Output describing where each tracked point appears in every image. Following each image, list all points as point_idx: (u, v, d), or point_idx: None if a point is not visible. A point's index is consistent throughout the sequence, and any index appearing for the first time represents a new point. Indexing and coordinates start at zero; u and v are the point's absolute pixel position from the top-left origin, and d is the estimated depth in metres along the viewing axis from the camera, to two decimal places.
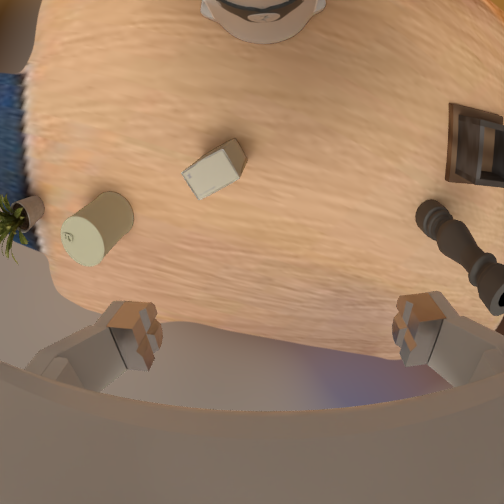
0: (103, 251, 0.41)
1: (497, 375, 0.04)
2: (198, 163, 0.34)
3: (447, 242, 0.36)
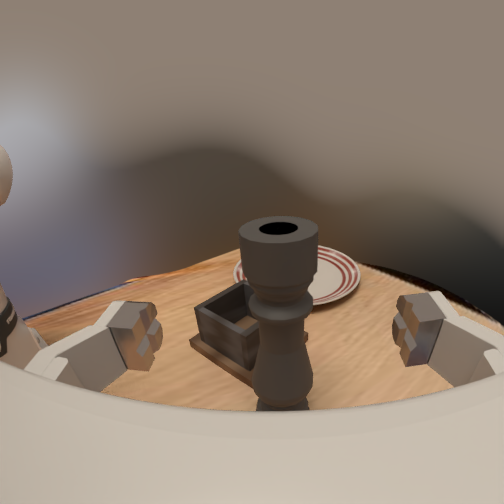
0: None
1: (497, 375, 0.04)
2: None
3: (261, 379, 0.25)
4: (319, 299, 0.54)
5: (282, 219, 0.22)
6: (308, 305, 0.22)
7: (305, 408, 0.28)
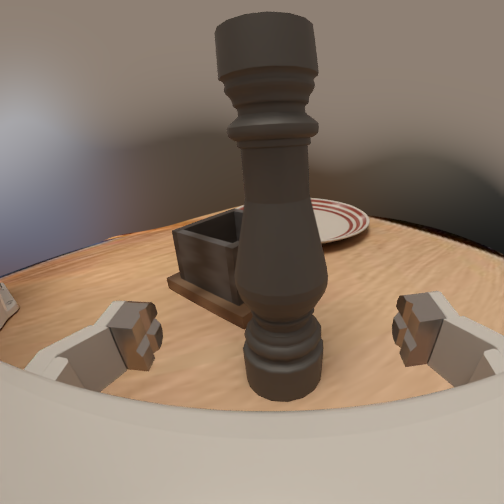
0: None
1: (497, 375, 0.04)
2: None
3: (247, 259, 0.17)
4: None
5: None
6: (311, 119, 0.14)
7: (317, 332, 0.20)
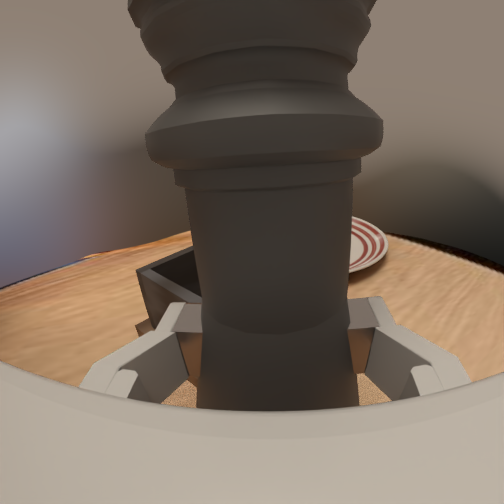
0: None
1: (497, 375, 0.04)
2: None
3: None
4: None
5: None
6: (370, 109, 0.05)
7: None
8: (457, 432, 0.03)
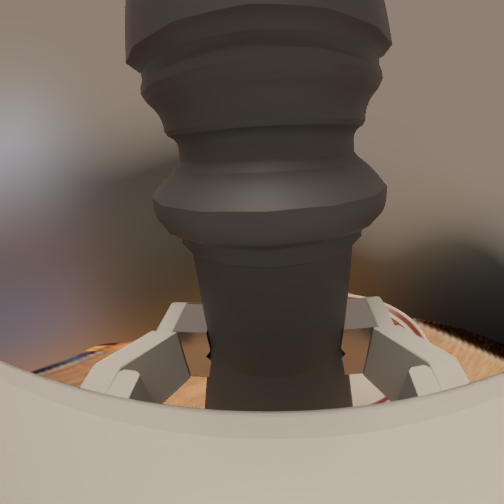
0: None
1: (497, 375, 0.04)
2: None
3: None
4: None
5: None
6: (372, 179, 0.05)
7: None
8: (457, 432, 0.03)
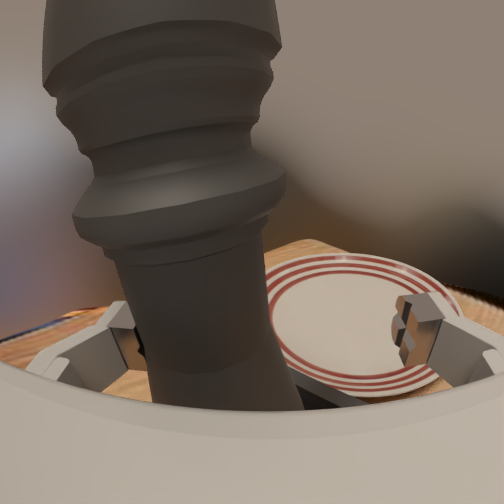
0: None
1: (497, 375, 0.04)
2: None
3: None
4: (411, 369, 0.23)
5: None
6: (250, 175, 0.05)
7: None
8: (457, 432, 0.03)
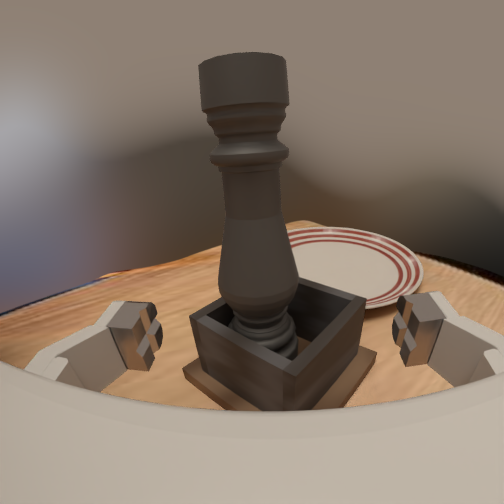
0: None
1: (497, 375, 0.04)
2: None
3: (224, 264, 0.20)
4: (377, 299, 0.35)
5: None
6: (278, 147, 0.17)
7: (290, 332, 0.23)
8: (457, 432, 0.03)
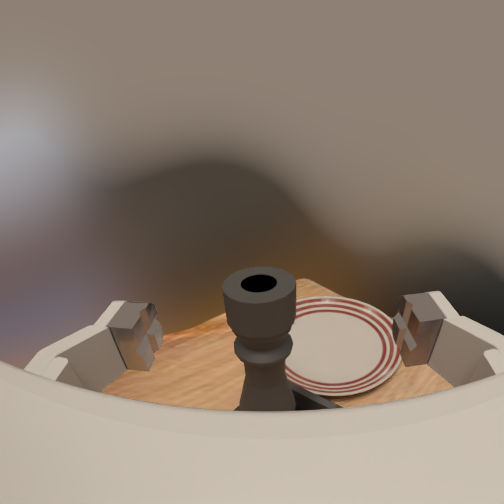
0: None
1: (497, 375, 0.04)
2: None
3: (245, 405, 0.27)
4: (360, 380, 0.41)
5: (266, 272, 0.24)
6: (285, 351, 0.23)
7: None
8: (457, 432, 0.03)
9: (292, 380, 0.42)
